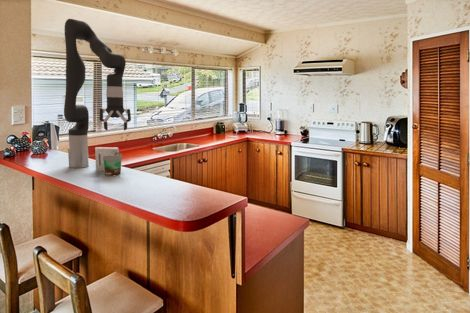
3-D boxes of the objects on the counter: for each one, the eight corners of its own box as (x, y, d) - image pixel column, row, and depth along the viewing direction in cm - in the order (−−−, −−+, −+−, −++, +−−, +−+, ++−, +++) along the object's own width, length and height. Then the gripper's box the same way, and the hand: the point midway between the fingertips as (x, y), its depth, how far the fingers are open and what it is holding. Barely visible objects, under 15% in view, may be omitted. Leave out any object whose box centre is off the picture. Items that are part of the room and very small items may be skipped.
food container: (115, 177, 171) (114, 156, 169) (103, 176, 172) (102, 156, 170) (127, 172, 183) (127, 153, 181) (116, 171, 184) (116, 152, 182)
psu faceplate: (95, 171, 183) (95, 148, 181) (96, 170, 185) (95, 147, 183) (118, 171, 185) (117, 148, 183) (118, 170, 187) (118, 147, 185)
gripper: (131, 96, 176) (131, 129, 178) (100, 95, 173) (101, 129, 176) (129, 96, 169) (130, 131, 171) (97, 95, 166) (98, 130, 168)
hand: (115, 130), depth 173 cm, fingers open, 8 cm apart
